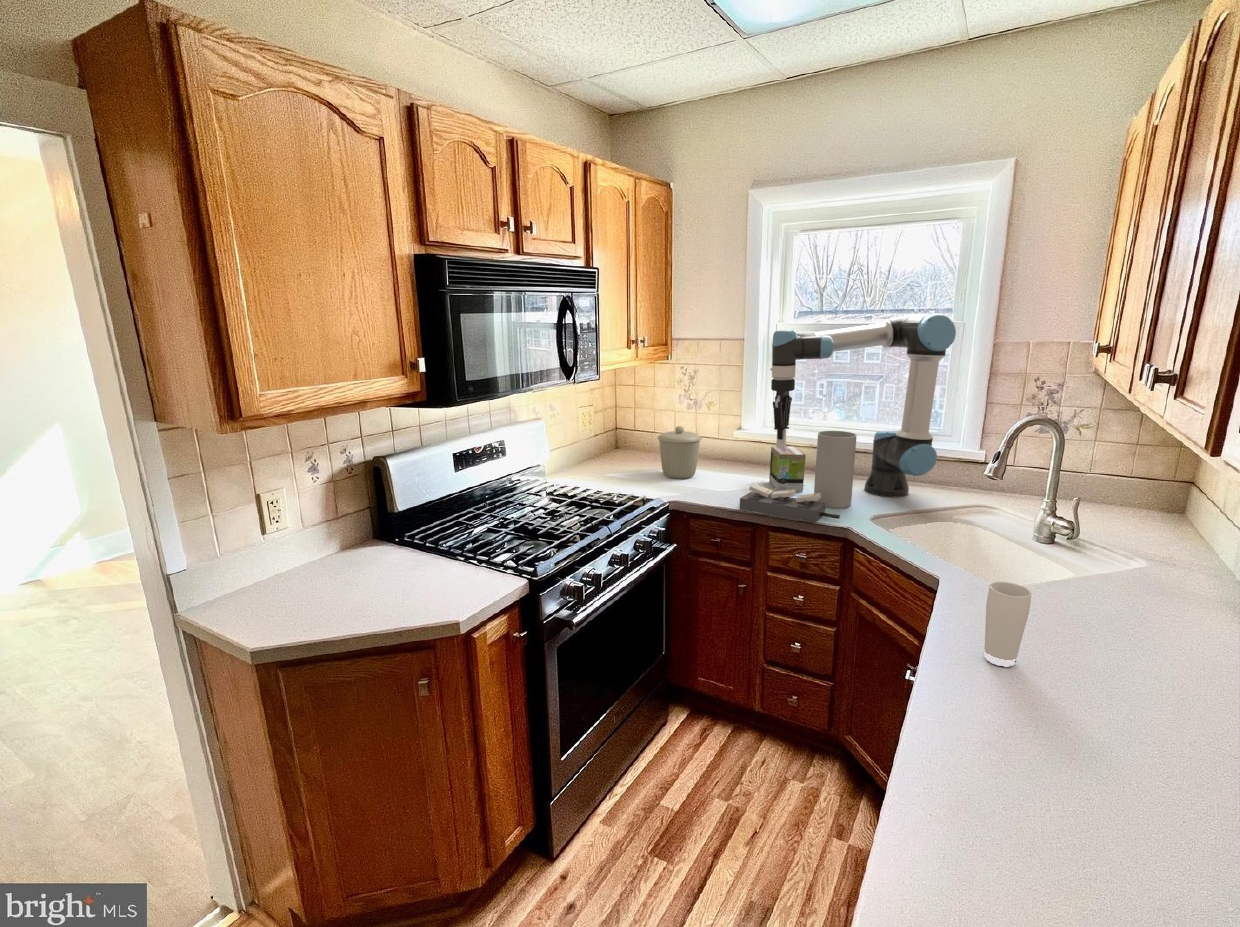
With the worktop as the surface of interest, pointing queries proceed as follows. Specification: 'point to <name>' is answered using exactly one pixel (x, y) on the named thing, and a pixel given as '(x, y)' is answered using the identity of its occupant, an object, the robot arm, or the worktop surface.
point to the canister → (679, 453)
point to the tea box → (787, 469)
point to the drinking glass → (1006, 619)
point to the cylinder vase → (835, 468)
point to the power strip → (784, 507)
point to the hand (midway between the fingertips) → (780, 448)
